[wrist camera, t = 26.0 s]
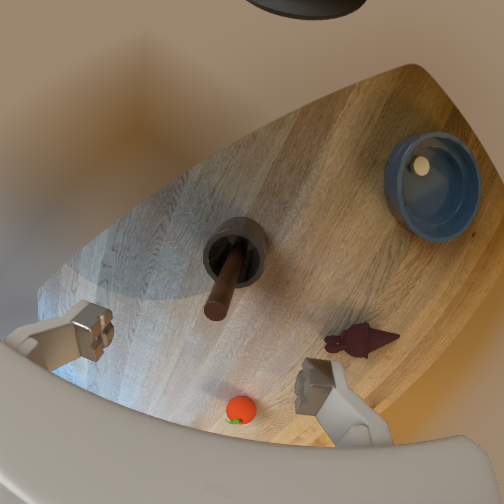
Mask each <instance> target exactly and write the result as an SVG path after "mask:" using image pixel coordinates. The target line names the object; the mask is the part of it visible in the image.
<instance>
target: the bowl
mask: <svg viewBox="0 0 504 504" xmlns="http://www.w3.org/2000/svg"><path fill="white" fill-rule="evenodd" d="M415 156H423V157H425V158H426V159H427V160H428V162H429V171H428V173H427V174H426V175H424V176H420V175H416V174H414V173H413V172H412V171H411V169H410V161H411V159H412V158H413V157H415ZM481 185H482V183H481V176H480V171H479V167H478V164H477V162H476V160H475V158H474V156H473V154H472V152H471V150H470V149H469V148H468V147H467V146H466V145H465V144H464V142H463V141H462V140H460V139H458V138H457V137H455V136H453V135H452V134H450V133H445V132H438V131H433V132H421V133H417V134H414V135H411V136H408V137H407V138H405V139H404V140H403V141H402V142H400V143H399V144H398V145H397V146H396V147H395V149H394V151H393V152H392V154H391V156H390V157H389V159H388V163H387V167H386V171H385V194H386V198H387V201H388V205H389V208H390V209H391V211H392V213H393V214H394V216H395V218H396V219H397V220H398V221H399V222H400V223H401V224H402V225H403V226H404V227H406V228H407V229H408V230H410V231H411V232H413V233H414V234H416V235H417V236H419V237H420V238H422V239H425V240H427V241H430V242H433V243H440V242H448V241H450V240H452V239H455V238H457V237H459V236H460V235H461V234H462V233H463V232H464V231H465V230H466V229H467V228H468V227H469V226H470V225H471V223H472V221H473V219H474V218H475V216H476V214H477V211H478V207H479V204H480V200H481Z"/></svg>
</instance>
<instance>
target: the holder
mask: <svg viewBox="0 0 504 504" xmlns="http://www.w3.org/2000/svg"><path fill="white" fill-rule="evenodd" d="M238 241H241V242H244V243H245V244H246V246H247V251H246V254H245V257H244V261H243V264H242V267H241V270H240V273H239V277H238V280H237V283H236V286H235V288H243V287H247V286H250V285H251V284H253V283H254V282H255V281H257V280H258V279H259V278H260V276H261V274H262V273H263V271H264V269H265V262H266V253H267V237H266V234H265V232H264V230H263V228H262V227H261V226H260V225H259V224H258V223H257V222H255V221H254V220H252V219H249V218H245V217H235V218H231V219H229V220H227V221H225V222H224V223H223V224H222V225H221V226H220V227H219V228H218V229H217V230H216V231H215V233H214V234H213V235H212V237H211V238H210V239H209V240H208V242H207V244H206V246H205V249H204V251H203V263H204V266H205V268H206V271H207V273H208V274H209V275H210V276H211V278H212V279H213V280H214V281H215V282H216V280H217V278H218V276H219V274H220V272H221V270H222V268H223V265H224V263H225V261H226V259H227V257H228V255H229V253H230V251H231V249H232V246H233V244H234V243H235V242H238Z"/></svg>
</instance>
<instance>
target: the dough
mask: <svg viewBox="0 0 504 504" xmlns="http://www.w3.org/2000/svg"><path fill="white" fill-rule="evenodd" d="M410 169H411V171H412V172H413V173H414V174H416V175H420V176H424V175H426V174H427V173H428V171H429V162H428V160H427V159H426V158H425V157H423V156H415V157H413V158H412V159H411V161H410Z"/></svg>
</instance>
